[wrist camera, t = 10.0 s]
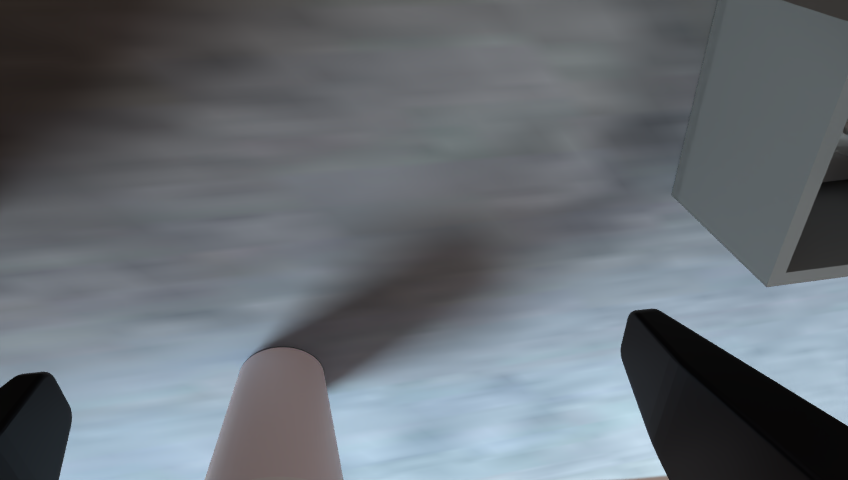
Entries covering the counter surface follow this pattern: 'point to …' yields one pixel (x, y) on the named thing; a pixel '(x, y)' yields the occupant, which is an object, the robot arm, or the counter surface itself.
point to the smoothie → (278, 422)
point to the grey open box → (771, 138)
